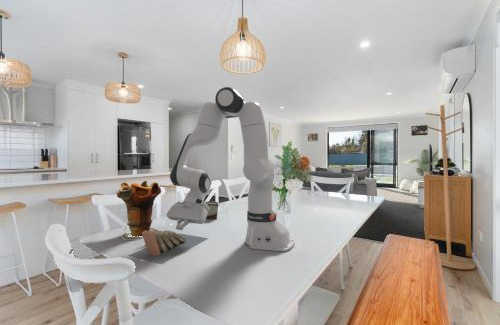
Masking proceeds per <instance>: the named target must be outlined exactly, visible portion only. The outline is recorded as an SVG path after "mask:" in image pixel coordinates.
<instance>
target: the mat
mask: <svg viewBox="0 0 500 325" xmlns="http://www.w3.org/2000/svg"><path fill="white" fill-rule="evenodd" d="M177 234H178V235H180V236H182V237H183V238H185V239H186V242H185V243H184V242H180V244H179V246H177V245H174V247H173V249H169V248H167V249H168V250H167V251H166V252H165V253H164V252H160V255H159V256H153V255H149V254H148V251H147V248H146V247H145V248H142V249H139V250H137V251H135V252H133V253H130V254H128V257H132V258H136V259H140V260H144V261H148V262H152V263H156V264H160V265H163V264H165V263H167V262H168V261H170V260H172V259H174V258H176V257H178V256H180V255H181V254H183V253H185V252H188V251H189V250H190V249H193V248H194V247H195V246H197V245H198V246H199V245H200V244H202V243H203V242H205V241H207V240H209V238H210V237H209V238H208V237H203V236H197V235H192V234H184V233H177Z"/></svg>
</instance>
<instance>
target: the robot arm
mask: <svg viewBox="0 0 500 325" xmlns="http://www.w3.org/2000/svg"><path fill="white" fill-rule="evenodd" d="M214 101H215V102H212V101H210V102H209V101H208V102H205V103H203V105H202V107H201V109H200V113H199V115H198V118H197V121H196V126H195V127H194V129H193V131H192V132H190V133H188V134H187V136H186V138H185V140H184V141H183V144H182V145H181V149H180V151H179V154H178V156H177V159H176V161H175V164H174V165H173V167H172V169H171V171H170V174H169V179H170V182H171V183H172V185H173V186H176V187H183V188H187V189H189V191H188V192H187V194H186V195H185V197H184V199H183V200H182V201H177V202H174V204H173V205H172V206H171V207H170V208H169V210H168V211H167V213H166V218H168V219H169V220H170V221H176V226H175V229H176V230H178V231H179V230H180V231H183V230H184V229H185V227H186V226H188V225H189V223H192V224H199V225H202V224H204V223H205V221H206V220H207V219H206V217H207V214H208V212H207V211H209V209H210V208H209V206H208V205H207V204H206V203H205V202H206V201H205V199H206V197H207V195H208V194H209V191H210V189H211V186H212V184H213V182H212V181H213V180H212V177H211V176H210V175H209V174H208V173H207V172H206V171H204V170H200V169H198V168H197V169H196V168H192V167H189V166H188V165H187V164H188V161H189V159H190V157H191V154H192V152H193V150H194V149H195V148H198V147H203V146H208V145H212V144H214V143H215V142H216V141H217V140H218V138H219V136H220V133H221V126H222V123H223V120H224V119H230V118H233V119H235V118H238V119H239V120H238V121H239V123H240V129H241V136H242V137H241V138H242V143H243V169H242V172H243V175H244V177H245V178H246V179H247V180H248V181H250V183H249V188H248V192H247V211H246V221H247V229H246V234H245V235H246V236H245V240H244V242H245V244H246V245H247V246H248V247H249V249H252V250H262V251H275V252H287V251H290V250H292V249H293V248H294V246H295V245H296V244H295V243H296V242H295V239H294V238H291V236H290V232H289V229H288V228H287V227H286V226H285V225H284V224H282V223H281V222H280V221H279V220H278V219H277V216H278V212H275V211H274V210H273V191H274V190H273V188H274V179H275V178H274V176H275V174H274V172H275V165H274V162H273V160H272V159H271V158H270V157H269V149H268V148H269V147H268V145H269V142H268V140H269V139H268V134H267V127H266V122H265V117H264V114H263V111H262V108H261V106H260V104H259V103H257V102H256V101H245V99H244V98H243V96H242V95H241V94H240V93H239V92H238V91H237V90H236V89H235V88H232V87H230V86H229V87H228V86H224V87H222V88H220V89H219V90H218V91H217V92H216V94H215V99H214Z"/></svg>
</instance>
